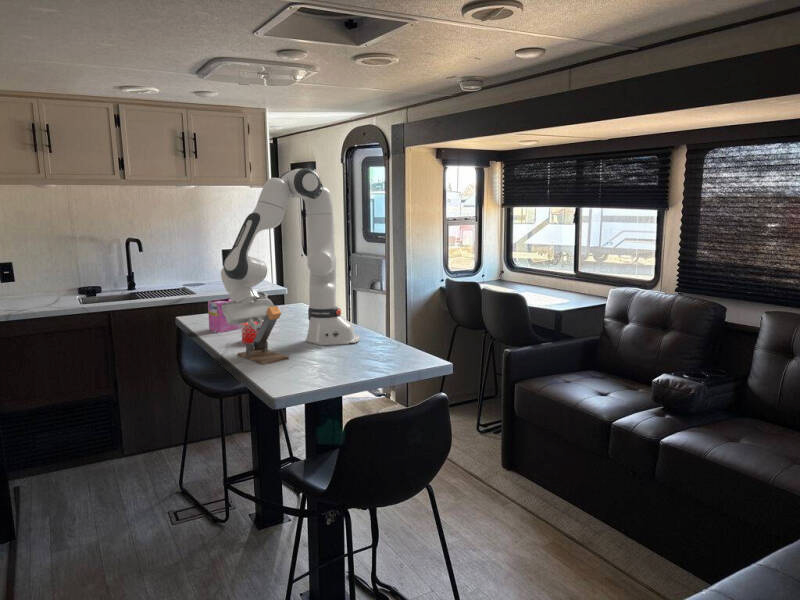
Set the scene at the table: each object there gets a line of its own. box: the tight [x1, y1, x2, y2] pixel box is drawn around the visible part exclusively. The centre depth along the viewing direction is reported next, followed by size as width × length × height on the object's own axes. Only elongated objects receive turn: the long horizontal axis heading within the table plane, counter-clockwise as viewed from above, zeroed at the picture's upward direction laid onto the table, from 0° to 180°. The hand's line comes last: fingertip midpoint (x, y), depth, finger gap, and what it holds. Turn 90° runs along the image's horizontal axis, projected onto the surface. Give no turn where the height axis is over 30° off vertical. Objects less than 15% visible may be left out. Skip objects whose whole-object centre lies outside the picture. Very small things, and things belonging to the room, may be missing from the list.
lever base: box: [237, 340, 290, 365], centre depth 225 cm, size 18×11×5 cm, turn 45°
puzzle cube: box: [241, 320, 269, 344], centre depth 249 cm, size 8×8×8 cm
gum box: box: [207, 297, 243, 333], centre depth 275 cm, size 24×8×14 cm, turn 143°
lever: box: [251, 305, 282, 351], centre depth 222 cm, size 4×4×22 cm
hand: (259, 329), depth 225 cm, fingers closed
